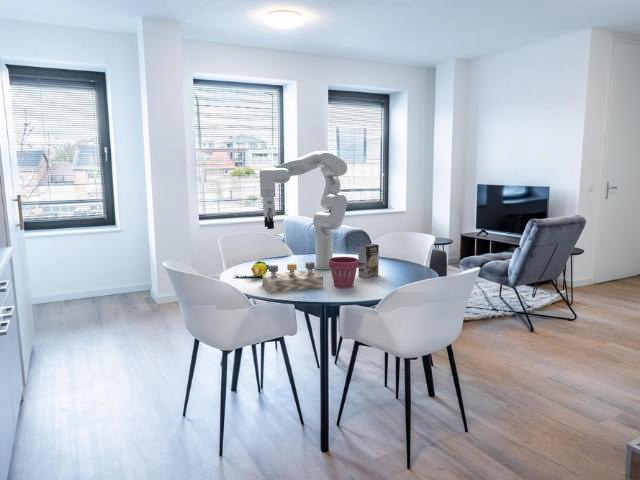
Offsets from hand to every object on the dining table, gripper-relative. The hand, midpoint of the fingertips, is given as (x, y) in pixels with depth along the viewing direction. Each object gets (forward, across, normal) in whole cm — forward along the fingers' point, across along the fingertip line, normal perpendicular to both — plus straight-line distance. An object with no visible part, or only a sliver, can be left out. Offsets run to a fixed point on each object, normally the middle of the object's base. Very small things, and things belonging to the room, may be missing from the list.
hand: (269, 227), depth 242 cm
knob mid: (+22, -19, -7) cm, 30 cm away
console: (+26, -19, -7) cm, 33 cm away
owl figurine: (+27, +7, +5) cm, 28 cm away
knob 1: (+22, -19, +2) cm, 29 cm away
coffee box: (+26, -11, -49) cm, 57 cm away
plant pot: (+26, -27, -31) cm, 49 cm away
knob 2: (+22, -19, -16) cm, 33 cm away
